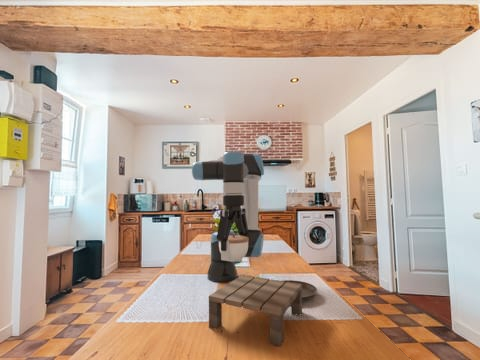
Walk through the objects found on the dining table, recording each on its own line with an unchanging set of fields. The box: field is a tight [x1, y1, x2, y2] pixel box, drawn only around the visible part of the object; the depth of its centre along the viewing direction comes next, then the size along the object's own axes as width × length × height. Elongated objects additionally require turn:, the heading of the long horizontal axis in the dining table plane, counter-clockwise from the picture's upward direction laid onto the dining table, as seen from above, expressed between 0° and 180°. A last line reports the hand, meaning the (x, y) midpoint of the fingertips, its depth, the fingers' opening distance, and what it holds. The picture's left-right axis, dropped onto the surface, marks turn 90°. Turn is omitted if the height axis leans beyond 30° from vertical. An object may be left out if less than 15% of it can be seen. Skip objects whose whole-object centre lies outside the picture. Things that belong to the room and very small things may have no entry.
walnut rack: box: [208, 274, 303, 347], centre depth 92 cm, size 24×24×10 cm
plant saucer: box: [283, 279, 318, 303], centre depth 113 cm, size 21×21×3 cm
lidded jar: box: [219, 232, 249, 263], centre depth 96 cm, size 11×11×9 cm
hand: (233, 256), depth 96 cm, fingers closed on lidded jar, 11 cm apart
